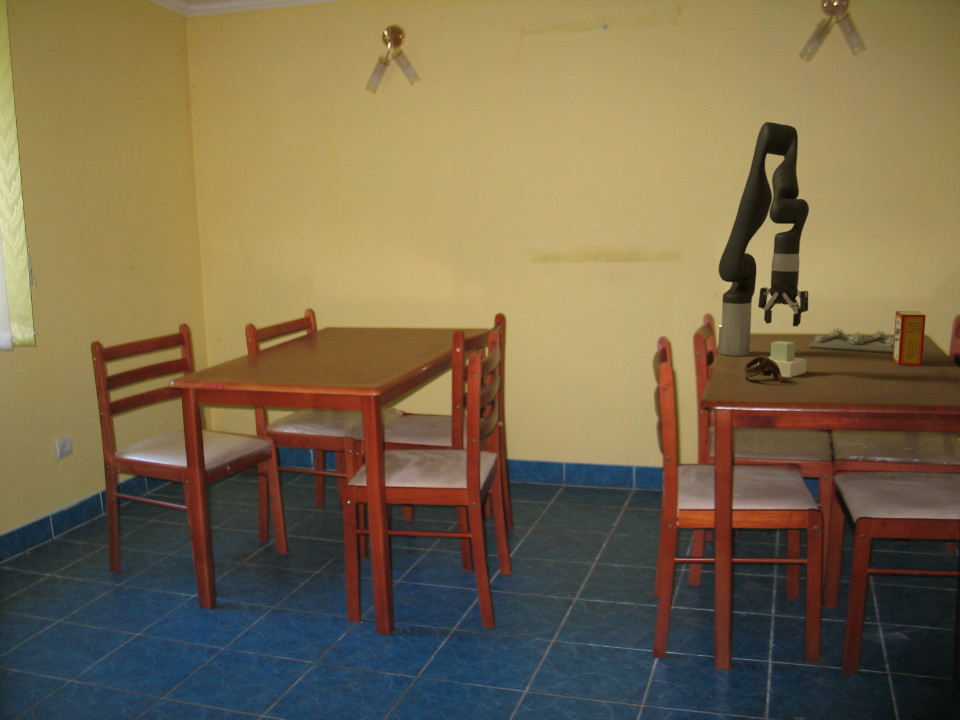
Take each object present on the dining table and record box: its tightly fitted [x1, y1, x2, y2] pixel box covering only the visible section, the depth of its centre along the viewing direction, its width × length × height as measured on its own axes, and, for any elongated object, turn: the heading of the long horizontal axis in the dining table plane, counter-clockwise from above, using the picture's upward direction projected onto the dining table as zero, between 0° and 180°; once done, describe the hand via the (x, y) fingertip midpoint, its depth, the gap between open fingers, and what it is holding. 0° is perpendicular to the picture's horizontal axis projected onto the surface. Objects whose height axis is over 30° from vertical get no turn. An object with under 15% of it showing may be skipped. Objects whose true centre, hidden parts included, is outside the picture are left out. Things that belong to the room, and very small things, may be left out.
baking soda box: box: [892, 310, 927, 367], centre depth 275 cm, size 10×6×16 cm
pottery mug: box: [744, 355, 783, 384], centre depth 253 cm, size 12×10×8 cm
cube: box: [770, 340, 796, 361], centre depth 262 cm, size 5×5×5 cm
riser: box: [757, 356, 807, 378], centre depth 263 cm, size 10×10×4 cm
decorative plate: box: [807, 326, 894, 354], centre depth 308 cm, size 30×22×7 cm
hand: (781, 324), depth 261 cm, fingers open, 8 cm apart
